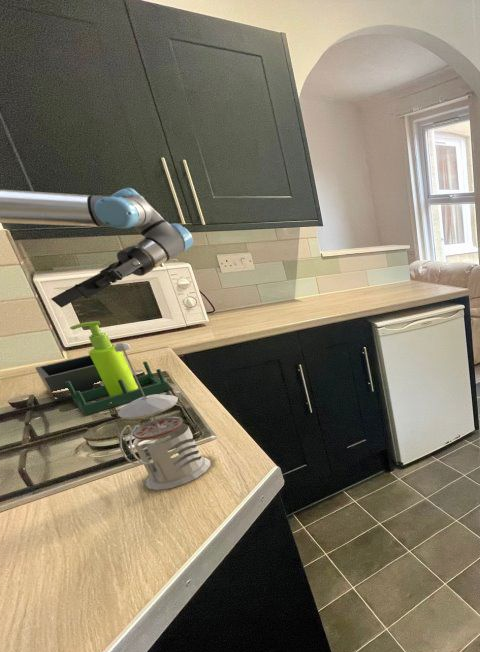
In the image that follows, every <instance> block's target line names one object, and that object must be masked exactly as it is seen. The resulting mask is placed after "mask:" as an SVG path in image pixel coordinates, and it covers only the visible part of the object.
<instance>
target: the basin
mask: <svg viewBox="0 0 480 652" xmlns="http://www.w3.org/2000/svg"><path fill="white" fill-rule="evenodd" d="M34 368H35V371H36V372H37V374H38V376H39V377H40V379H41V381H42V383H43V385H44V387H45V388H46V390H47V392H48V393H49V394H50V395H51V397H52V398H53V399H54V400H55V401H56V402H57V403H61V402H66V401H69V400H73V399H72V397H71V396H69V397H66V398H58V399H55V398H54V396H53V395H52V392H53V391H57V390H61V389H65V388H68V387H67V385H66V383H65V382H67V381H70V382H71V384H72V386H73V388H74V390H75V392H76V391H80V392H83V391H87V390H91V389H93V384H94V383H97V382H99V381H102V379H101V377H100V375H99V373H98V371H97V369H96V367H95V364H94V362H93V360H92V358H91V356H90V354H88V355H83V356H79V357H75V358H70V359H67V360H61V361H58V362H53V363H49V364H44V365H39V366H35V367H34Z"/></svg>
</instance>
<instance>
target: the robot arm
mask: <svg viewBox="0 0 480 652" xmlns="http://www.w3.org/2000/svg"><path fill="white" fill-rule="evenodd" d="M1 223H2V224H21V225H22V224H24V225H49V226H75V227H77V226H78V227H101V228H114V229H123V230H126V229H131V228H134V229H135V230H136V231H137V232H138V233H139V234H140V235H141V236H143V238H141V239H140V240H138V241H136V242H134V243H132V244H130V245H129V246H126V247H124V248H123V249H120V250H119V251H117V253H116V258H117V261H116V262H113V263H111V264H109V265H108V266H107V267H106V268H103V269H101V270H100V271H99V272H98V273H97V274H94V275H93V276H91V277H89V278H87V279H85V280H83V281H82V282H79V283H76V284H74V286H72V287H70V288H68V289H66V290H65V291H62V292H60V293H59V294H57V295H55V296H53V297H51V298H50V300H51V301H52V302H54V303H55V304H56V305H57V306H59V307H60V308H64V307H66V306H68V305H69V304H71V303H72V302H74V301H76V300H78V299H80V298H81V297H84V298H85V299H88V298H91V297H92V296H93V295H96V294H97V293H99V292H101V291H102V290H105V289H106V288H107V287H109V286H111V285H112V284H115V283H117V282H118V281H122V280H123V279H124V278H126V277H128V276H131V275H135V276H138V277H142V276H144V275H146V274H149V273H150V272H152V271H153V270H154V269H157V268H158V267H160V268H162V267H164V266H165V263H166V262H169V261H170V260H172V259H174V258H175V257H177V256H179V255H181V254H183V253H184V252H185V251H187V250H188V249H189V248H191V247H192V246H193V244H194V238H193V236H192V235H193V234H192V233H191V232H190V231H189V230H188V229H187V228H186V227H185V226H182V224H180V223H175V222H174V223H169V222H168V221H167V220H165V219H164V218H163V217H162V216H161V214H160V213H159V212H158V211H157V210H155V208H153V206H152V205H151V204H150V203H149V202H148V201H147V200H146V199H145V197H144V196H142V195H141V194H139V193H138V191H136V190H135V189H133V188H131V187H126V188H121V189H119V190H117V191H116V192H114V193H113V194H111V195H91V194H77V193H76V194H75V193H61V192H45V191H44V192H43V191H30V190H15V189H0V224H1Z"/></svg>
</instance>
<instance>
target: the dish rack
mask: <svg viewBox="0 0 480 652" xmlns="http://www.w3.org/2000/svg"><path fill="white" fill-rule="evenodd" d="M142 364H143V366H144V369H145V371H146V373H147V374H142V375H138V376H139V377H138V376H136V377H137V379H138V381H139V383H140V386H141V388H142V390H143V392H144V394H145V396H149V395H155V394H161V393H165V392H167V391H170V390H171V389H170V386H169V383H168V381H166V379H165V377H164V374H163V372H162V370H161V368H157V369H155V371H156V373H157V376H158V377H157V376H155V373H153V372H152V370H151V367H150V365H149V363H148V361H142ZM134 379H135V381H136V378H135V377H134ZM118 382H119V385H120V387H121V389H122V391H123V393H122V394H119V395H115V396H112V397H110V395H109V393H108V391H107V389H106V387H105V386H102V387H98V388H94V389H91V390H87V391H83V392H80V391H76V392H75V390H74V388H73V386H72V384H71V382H70V381H67V382H65V383H66V385H67V387H68V389H69V391H70V393H71V397H72V399H71V400H72V401H73V402H74V404H75V405H76V406H77V407H78V409H80V411H82V413H83V414H84V415H85V416H89V415H93V414H96V413H99V412H102V411H106V410H108V409H109V410H110V409H112V408H116V407H118V406H122V405H125V404H129V403H130V402H132V401H134V400H136V399H138V398H141V397H144V396H143V394H142V392H141V389H140V387H139V385H138V383H137V381H136V384H137V386H138V388H139V389H136V390H132V391H129V392H128V391H127V389H126V386H125V384H124V382H123V380H122V379H120V380H118ZM148 384H150V385H148ZM144 385H147V386H144ZM142 386H143V387H142ZM107 396H108V397H107ZM103 397H105V398H103ZM100 398H102V399H100ZM96 399H97V400H96ZM93 400H95V401H93ZM90 401H92V402H90ZM87 402H89V403H87ZM109 402H112V404H109ZM108 404H109V405H108Z"/></svg>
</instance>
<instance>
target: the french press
mask: <svg viewBox="0 0 480 652" xmlns="http://www.w3.org/2000/svg"><path fill="white" fill-rule="evenodd" d="M114 345H115V351H116V352H119V351H122V353H123V355H124V357H125V359H126V361H127V364H128V366H129V368H130V370H131V373H132V375H133V377H134V378H136V381H137V383H138V385H139V386H138V388H140V389H141V392H142V394H143V396H144V397H141V398H138V399H136V400H134V401H132V402H129V403H126V405H124V406H123V407H122V408H121V409H120V410H119V411H118V413H117V416H119V418H121V419H123V420H139V419H144V418H147V417H152V418H153V421H149V422H146V423H144V424H142V425H140V424H136V425H134V426H133V428H131V426H130V425H125V426H124V427H123V429H122V430H121V432H120V435H119V449H120V452H121V454H122V455H123V458H125V459H126V461H128V462H129V463H131V464H133V465H138V466H139V465H143V466H144V468H145V471H146V472H147V474H148V477H147V479H146V481H145V485H144V486H145V487H146V488H147V489H149V490H154V491H161V490H168V489H172V488H176V487H179V486H183V485H185V484H187V483H189V482H191V481H193V480H196V479H198V478H199V477H200V476H202V475H203V474H205V473H206V472H207V471H208V469H209V468H210V467H211V460H209V459H208V458H206V457H203V456H201V452H200V450H199V447H198V446H197V445H196V441H195V439H194V435H193V433H192V431H191V429H190V426H189V425H188V424H186V423H184V419H183V418H182V417H181V416H169V417H164V418H158V419H156V417H155V415H157V414H160V413H164V412H165V411H167V410H169V409H171V408H173V407H174V406H175V405H177V403H178V400H179V398H178V397H177V396H175V395H172V394H171V395H170V394H160V393H158V394H155V395H149V396H145V394H144V392H143V390H142V388H143V387H142V386H140V383H139V381H138V379H137V377H138V376H137V375H136V372H135V370H134V368H133V366H132V363H131V361H130V359H129V357H128V354H127V352H126V351H128V350H129V351H130V350H131V349H132V347H131V345H130V343H128V342H125V341H124V342H118V343H116V344H114ZM127 428H128V429H129V431H131V432H130V435H129V441H128V443H129V450H130V452H131V453H132V456H133V457H134V458H135V459H136V460H137V461H138V462H135V461H132V460H131V459H130V458H128V456H127V454H126V453H125V451H124V448H123V442H122V441H123V440H122V439H123V434H124V432H125V430H126V429H127ZM169 436H170V438H168V439H166V440H161V441H157V442H149V443H147V442H146V441H154V440H160V439H164V438H166V437H169ZM133 438H134V440H133V441H132V439H133ZM144 441H145V442H146V443H144V444H141V445H139V444H140V443H141V442H144ZM132 442H133V443H132ZM133 445H134V448H135V450H136V452H137V454H138V455H136V453H135V451H134V449H133ZM144 449H147V450H144ZM172 449H173V450H172ZM170 450H171V451H170ZM169 451H170V452H169ZM148 454H149V456H147V455H148ZM176 454H178V455H176ZM174 455H176V456H174ZM138 456H139V457H138ZM173 456H174V457H173ZM151 460H152V461H151ZM150 461H151V462H150Z"/></svg>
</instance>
